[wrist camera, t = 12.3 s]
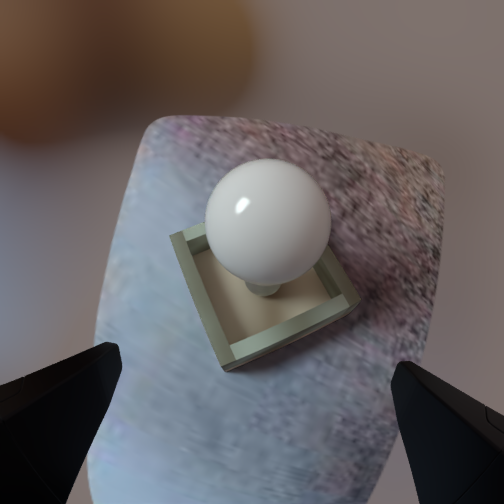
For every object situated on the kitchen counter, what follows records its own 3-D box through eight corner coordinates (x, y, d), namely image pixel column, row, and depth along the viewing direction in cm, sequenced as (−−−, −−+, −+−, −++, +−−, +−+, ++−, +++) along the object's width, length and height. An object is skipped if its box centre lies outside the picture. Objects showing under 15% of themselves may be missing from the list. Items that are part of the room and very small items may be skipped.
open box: (225, 372, 20) (220, 366, 18) (177, 255, 25) (169, 235, 22) (349, 313, 22) (361, 299, 19) (288, 212, 26) (292, 190, 24)
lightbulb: (304, 327, 21) (350, 252, 11) (213, 319, 21) (181, 238, 11) (306, 247, 24) (338, 139, 14) (225, 240, 24) (210, 129, 14)
